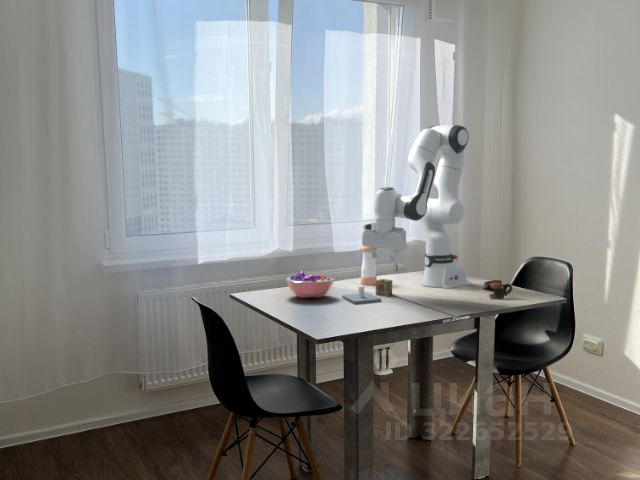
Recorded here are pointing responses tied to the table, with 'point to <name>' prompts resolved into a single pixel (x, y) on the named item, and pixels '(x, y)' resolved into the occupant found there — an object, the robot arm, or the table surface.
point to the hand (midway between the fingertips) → (383, 259)
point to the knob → (384, 287)
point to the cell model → (309, 285)
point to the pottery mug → (497, 289)
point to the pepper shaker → (368, 267)
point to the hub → (361, 297)
